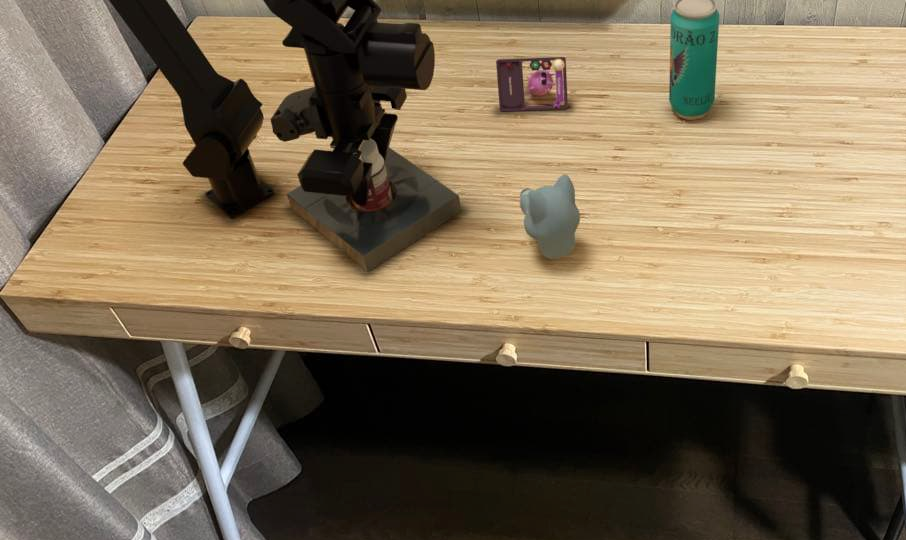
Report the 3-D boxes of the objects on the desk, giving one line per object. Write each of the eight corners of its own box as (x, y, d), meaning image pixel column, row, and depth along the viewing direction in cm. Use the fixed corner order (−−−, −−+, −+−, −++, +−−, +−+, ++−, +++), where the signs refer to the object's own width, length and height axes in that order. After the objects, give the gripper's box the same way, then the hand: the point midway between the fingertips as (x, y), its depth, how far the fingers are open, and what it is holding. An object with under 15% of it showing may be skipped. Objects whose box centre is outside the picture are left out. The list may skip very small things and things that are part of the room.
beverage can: (662, 102, 132) (663, -2, 121) (702, 92, 133) (707, -13, 122) (679, 127, 128) (682, 22, 117) (721, 116, 129) (728, 10, 118)
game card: (495, 61, 130) (565, 58, 129) (499, 51, 134) (567, 49, 133) (499, 112, 133) (567, 110, 132) (503, 101, 137) (569, 99, 136)
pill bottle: (346, 210, 121) (329, 154, 115) (369, 186, 123) (354, 130, 117) (378, 221, 119) (363, 165, 113) (401, 196, 122) (387, 140, 115)
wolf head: (549, 214, 119) (542, 145, 112) (592, 254, 114) (588, 186, 106) (505, 236, 117) (495, 168, 110) (546, 278, 112) (539, 210, 104)
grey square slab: (461, 211, 121) (458, 195, 119) (367, 272, 115) (363, 256, 113) (382, 155, 129) (378, 139, 127) (291, 209, 123) (285, 193, 122)
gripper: (304, 26, 116) (335, 136, 127) (235, 124, 104) (275, 236, 115) (395, 33, 114) (418, 144, 125) (335, 134, 102) (366, 246, 113)
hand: (369, 190), depth 120 cm, fingers closed on pill bottle, 5 cm apart
